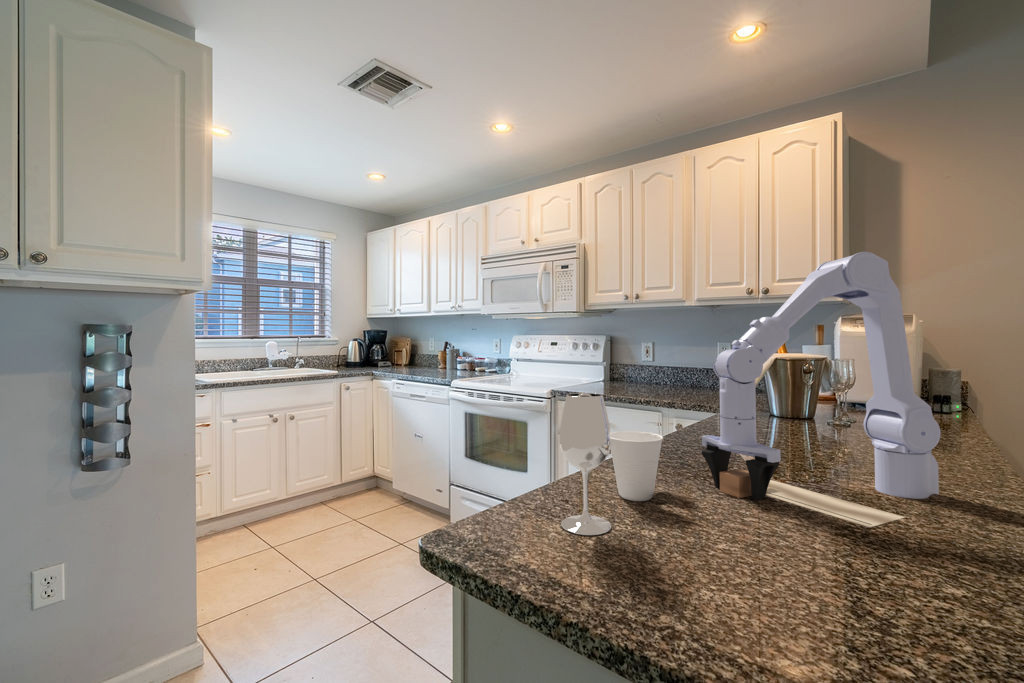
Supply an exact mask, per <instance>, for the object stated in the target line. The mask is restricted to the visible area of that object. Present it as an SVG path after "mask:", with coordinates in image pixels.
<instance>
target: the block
mask: <svg viewBox="0 0 1024 683" xmlns="http://www.w3.org/2000/svg"><path fill="white" fill-rule="evenodd" d="M719 492H721V493H724V494H727V495H729V496H733V497H736V498H739V499H740V498H745V497H752V496H751V480H750V475H749V471H748V470H745V469H742V468H736V469H735V468H734V469H730V470H729V469H728V471H722V472H720V488H719Z"/></svg>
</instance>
